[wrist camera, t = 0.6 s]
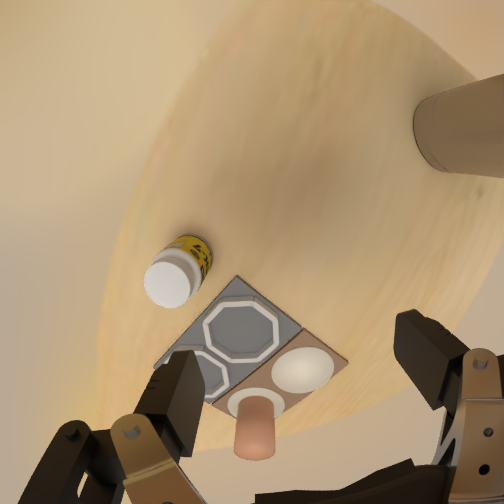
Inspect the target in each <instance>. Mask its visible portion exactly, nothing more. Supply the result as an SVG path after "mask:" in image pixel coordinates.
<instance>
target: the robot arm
mask: <svg viewBox="0 0 504 504" xmlns="http://www.w3.org/2000/svg"><path fill="white" fill-rule="evenodd" d="M414 133H415V138H416V141H417V144H418V146H419V149H420V151H421V153H422V154H423V156H424V157H425V159H426V160H427V161H428V162H429V163H430V164H431V165H432V166H433V167H435V168H436V169H438V170H440V171H442V172H448V173H461V174H471V175H481V176H489V177H498V178H504V74H501V75H498V76H494V77H490V78H487V79H484V80H480V81H477V82H474V83H471V84H467V85H464V86H461V87H458V88H455V89H452V90H449V91H446V92H443V93H440V94H438V95H435V96H432V97H429V98H427V99H425V100H423V101H422V102H421V103H420V104H419V106H418V107H417V109H416V112H415V116H414ZM394 354H395V357H396V360H397V361H398V362H399V364H400V365H401V366H402V368H403V369H404V371H405V372H406V373H407V375H408V376H409V377H410V379H411V380H412V381H413V383H414V384H415V386H416V387H417V388H418V390H419V391H420V392H421V394H422V395H423V397H424V398H425V400H426V401H427V403H428V404H429V405H430V407H431V408H432V410H433V411H434V410H436V409H438V408H440V407H442V406H444V407H445V408H446V410H445V413H444V417H443V422H442V428H441V432H440V437H439V441H438V445H437V450H436V453H435V456H434V459H433V461H432V463H431V465H418V466H414V464H413V461H412V459H411V458H410V459H407V460H405V461H402V462H400V463H397V464H395V465H392V466H389V467H387V468H384V469H381V470H378V471H376V472H374V473H372V474H370V475H368V476H367V477H365V478H363V479H361V480H359V481H357V482H355V483H353V484H351V485H349V486H347V487H345V488H343V489H340V490H330V491H309V490H307V491H306V490H292V491H284V492H275V493H263V494H255V503H252V504H504V355H500V356H496V355H495V354H494V353H493V352H491V351H489V350H487V349H482V348H476V349H472V350H470V349H469V348H468V347H467V346H466V345H465V344H464V343H462V342H461V341H460V340H459V339H458V338H457V337H456V336H454V335H453V334H451V332H450V331H449V330H447V329H445V327H444V326H443V325H441V324H440V323H439V322H438V321H436V320H433V319H431V318H428V317H426V318H425V317H424V316H423V315H422V314H421V313H419V312H418V311H417V310H416V309H412V310H409V311H405V312H402V313H399V314H397V316H396V323H395V336H394ZM204 398H205V382H204V379H203V376H202V373H201V370H200V367H199V364H198V361H197V358H196V355H195V353H194V351H193V350H180V351H173V352H172V354H171V356H170V359H169V361H168V363H167V364H162V365H161V366H160V367H158V368H157V369H156V370H155V371H154V372H153V374H152V376H151V378H150V382H148V384H147V386H146V389H145V390H144V392H143V394H142V396H141V398H140V400H139V402H138V404H137V406H136V408H135V410H134V412H133V414H128V415H125V416H123V417H121V418H119V419H118V420H116V421H115V422H114V424H113V425H112V427H111V429H107V430H97V431H92V430H91V429H90V428H89V426H88V425H87V424H86V423H85V422H83V421H80V420H74V421H70V422H68V423H65V424H64V425H62V426H61V427H60V428H59V430H58V432H57V433H56V434H55V436H54V438H53V440H52V441H51V443H50V444H49V446H48V448H47V450H46V452H45V453H44V455H43V457H42V458H41V460H40V462H39V464H38V466H37V467H36V469H35V471H34V473H33V475H32V476H31V478H30V480H29V482H28V485H27V486H26V488H25V490H24V492H23V494H22V496H21V498H20V500H19V502H18V504H121V501H122V497H123V494H124V490H125V489H126V492H127V494H128V496H129V498H130V501H131V502H132V504H208V503H207V502H206V501H205V500H204V498H203V497H202V496H201V495H200V494H199V492H198V491H197V489H196V488H195V487H194V486H193V484H192V483H191V481H190V480H189V479H188V477H187V476H186V475H185V473H184V472H183V470H182V469H181V467H180V466H179V465H178V464H179V460H180V457H191V456H192V452H193V448H194V443H195V438H196V434H197V429H198V425H199V420H200V416H201V411H202V407H203V402H204ZM84 472H85V473H86V474H87V475H88V477H87V479H86V481H85V484H84V486H83V489H82V491H81V494H80V497H79V498H78V494H77V490H78V486H79V484H80V482H81V479H82V477H83V475H84Z"/></svg>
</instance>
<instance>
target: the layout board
mask: <svg viewBox="0 0 504 504" xmlns="http://www.w3.org/2000/svg"><path fill="white" fill-rule="evenodd" d="M301 328H302V327H301V325H299V324H298V323H297V322H295V321H294V320H293V319H291V318H290V317H289V316H288V315H286V314H285V313H284V312H282V311H281V310H280V309H279V308H277V307H276V306H275V305H274V304H272V303H271V302H270V301H268V300H267V299H266V298H265V297H263V296H262V295H261V294H260V293H258V292H257V291H256V290H255V289H253V288H252V287H251V286H250V285H248V284H247V283H246V282H245V281H243V280H242V279H241V278H240V277H238V276H237V275H236V277H235V278H234V279H233V280H232V281H231V282H230V283H229V284H228V285H227V286H226V287H225V289H224V290H223V291H222V292H221V293H220V294H219V295H218V296H217V297H216V298H215V300H214V301H213V302H212V303H211V304H210V305H209V306H208V307H207V308H206V309H205V311H204V312H203V313H202V314H201V315H200V316H199V317H198V318H197V319H196V320H195V321H194V323H193V324H192V325H191V326H190V327H189V328H188V329H187V330H186V331H185V332H184V333H183V335H182V336H181V337H180V338H179V339H178V340H177V341H176V342H175V343H174V344H173V345H172V347H171V348H170V349H169V350H168V351H167V352H166V353H165V354H164V355H163V356H162V357H161V359H160V360H159V361H158V362H157V363H156V364H155V365H154V367H153V368H154V369H155V370H156V369H157V368H158V367H160V366H161V365H162V364H167V363H168V361H169V359H170V356H171V354H172V352H173V351H180V350H193V351H194V353H195V355H196V358H197V361H198V364H199V367H200V370H201V373H202V376H203V379H204V382H205V398H204V401H205V402H207V403H208V404H210V403H211V402H213V401H214V400H215V401H214V402H213V403H212V406H214V407H215V408H217V409H219V410H221V411H223V412H225V413H226V414H228V415H230V416H232V417H234V418H236V419H237V422H236V432H235V442H234V453H235V454H236V455H237V456H238V457H240V458H242V459H246V460H254V461H257V460H264V459H268V458H270V457H272V456H273V455H274V454H275V420H274V419H275V418H277V417H278V416H280V415H281V414H282V413H283V412H285V411H286V410H288V409H289V408H291V407H292V406H294V405H295V404H297V403H298V402H300V401H301V400H302V399H304V398H305V397H307V396H308V395H309V394H311V393H312V392H313V391H315V390H316V389H318V388H320V387H321V386H323V385H324V384H325V383H327V381H328V380H329V379H331V378H332V377H333V376H334V375H336V374H337V373H338V372H339V371H341V370H342V369H343V368H344V367H346V366H347V365H348V364H349V362H348V361H347V360H346V359H344V358H343V357H342V356H340V355H339V354H338V353H336V352H335V351H334V350H332V349H331V348H330V347H328V346H327V345H326V344H324V343H323V342H322V341H320V340H319V339H318V338H316V337H315V336H314V335H312V334H311V333H310V332H308V331H307V330H306V329H304V328H303V329H302V330H301V331H300V332H298V331H299V330H300V329H301ZM297 332H298V333H297ZM296 333H297V334H296ZM295 334H296V335H295ZM294 335H295V336H294ZM293 336H294V337H293ZM291 337H293V338H292V339H291V340H289V339H290V338H291ZM288 340H289V341H288ZM287 341H288V342H287ZM286 342H287V343H286ZM285 343H286V344H285ZM284 344H285V345H284ZM282 345H284V346H283V347H282V348H280V347H281V346H282ZM279 348H280V349H279ZM278 349H279V350H278ZM277 350H278V351H277ZM276 351H277V352H276ZM274 352H276V353H275V354H273V353H274ZM272 354H273V355H272ZM271 355H272V356H271ZM270 356H271V357H270ZM269 357H270V358H269ZM267 358H269V359H267ZM266 359H267V360H266ZM265 360H266V361H265ZM264 361H265V362H264ZM263 362H264V363H263ZM261 363H263V364H261ZM260 364H261V365H260ZM259 365H260V366H259ZM258 366H259V367H258ZM257 367H258V368H257ZM255 368H257V369H255ZM254 369H255V370H254ZM253 370H254V371H253ZM252 371H253V372H252ZM250 372H252V373H250ZM249 373H250V374H249ZM248 374H249V375H248ZM247 375H248V376H247ZM245 376H247V377H245ZM244 377H245V378H244ZM243 378H244V379H243ZM242 379H243V380H242ZM240 380H242V381H240ZM239 381H240V382H239ZM238 382H239V383H238ZM237 383H238V384H237ZM235 384H237V385H235ZM234 385H235V386H234ZM233 386H234V387H233ZM231 387H233V388H231ZM230 388H231V389H230ZM229 389H230V390H229ZM228 390H229V391H228ZM226 391H227V392H226ZM225 392H226V393H225ZM224 393H225V394H224ZM222 394H224V395H222ZM221 395H222V396H221ZM220 396H221V397H220ZM218 397H220V398H218ZM217 398H218V399H217ZM216 399H217V400H216Z"/></svg>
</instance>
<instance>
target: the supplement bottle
mask: <svg viewBox="0 0 504 504" xmlns="http://www.w3.org/2000/svg"><path fill="white" fill-rule="evenodd" d="M212 260H213V256H212V251H211V249H210V247H209V245H208V244H207V242H206V241H205V240H204V239H202V238H201V237H199V236H196V235H190V234H189V235H183V236H181V237H179V238H177V239H176V240H175V241H173V242H172V243H171V244H169V245H168V246H167V247H165V248H164V249H163V250H162V251H160V252H159V253H158V254H157V255H156V256H155V257H154V259H153V260H152V263H151V266H150V267H149V268H148V269H147V271H146V273H145V276H144V288H145V290H146V293H147V294H148V296H149V297H150V299H151V300H152V301H153V302H155V303H156V304H158V305H159V306H162V307H165V308H177V307H179V306H181V305H183V304H184V303H185V302H186V301H187V300H188V299H189V298H191V297H192V296H193V295H194V294H195V293H196V292H197V291H198V290H199V288H200V286H201V284H202V282H203V280H204V279H205V277H206V275H207V273H208V271H209V269H210V267H211V265H212Z"/></svg>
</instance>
